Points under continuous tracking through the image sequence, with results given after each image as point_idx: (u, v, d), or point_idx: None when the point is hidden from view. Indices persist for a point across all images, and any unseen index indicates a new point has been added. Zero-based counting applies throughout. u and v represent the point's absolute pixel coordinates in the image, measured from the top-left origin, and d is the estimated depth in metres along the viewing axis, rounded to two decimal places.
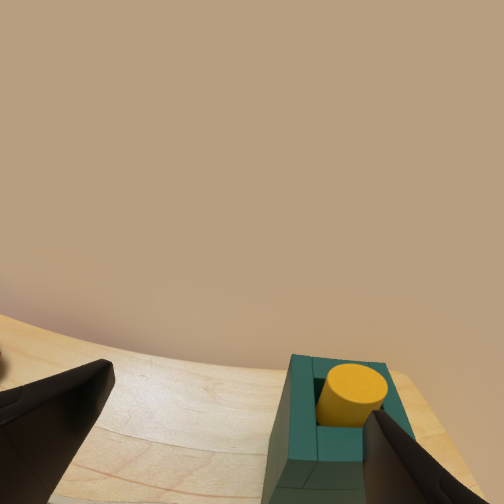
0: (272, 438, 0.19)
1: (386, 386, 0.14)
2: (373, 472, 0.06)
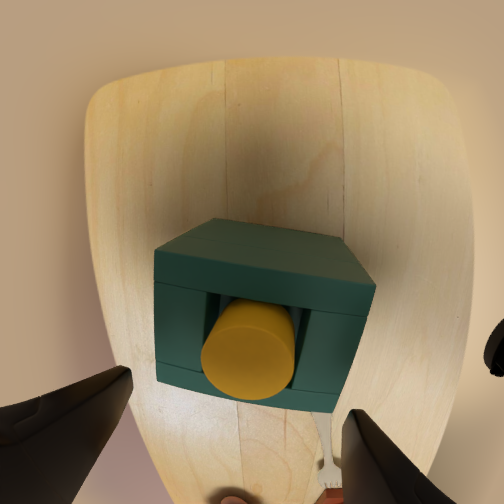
0: None
1: (260, 331, 0.10)
2: (350, 473, 0.06)
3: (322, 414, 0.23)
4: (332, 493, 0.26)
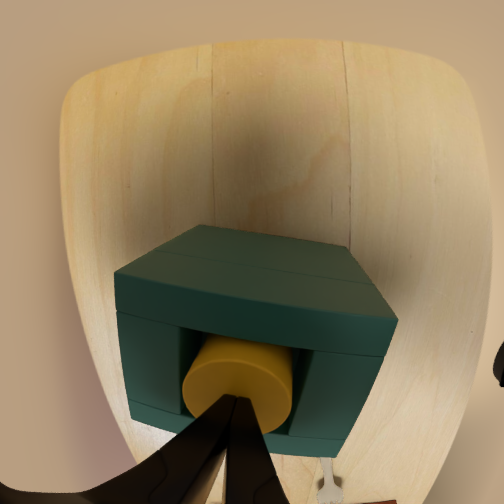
0: None
1: (251, 366, 0.08)
2: (225, 462, 0.07)
3: None
4: None
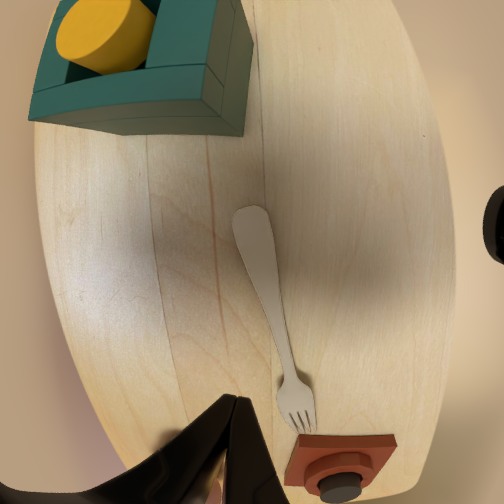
0: (128, 130, 0.16)
1: None
2: (225, 462, 0.07)
3: (264, 275, 0.19)
4: (307, 441, 0.23)
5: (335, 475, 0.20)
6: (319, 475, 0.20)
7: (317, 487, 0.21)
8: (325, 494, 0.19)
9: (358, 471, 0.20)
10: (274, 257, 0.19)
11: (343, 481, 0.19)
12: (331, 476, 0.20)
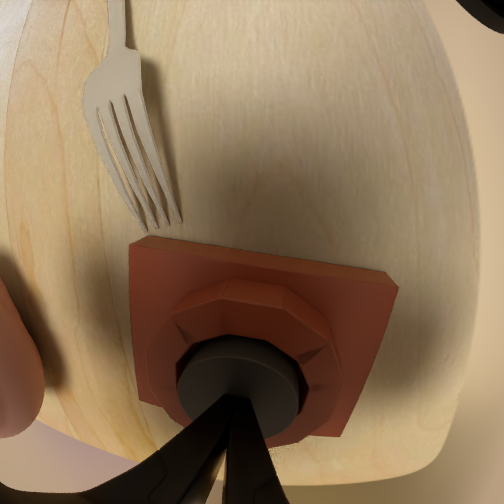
0: None
1: None
2: (225, 462, 0.07)
3: None
4: (156, 242, 0.11)
5: None
6: (168, 336, 0.09)
7: None
8: (186, 386, 0.09)
9: (284, 342, 0.08)
10: None
11: (235, 344, 0.09)
12: None
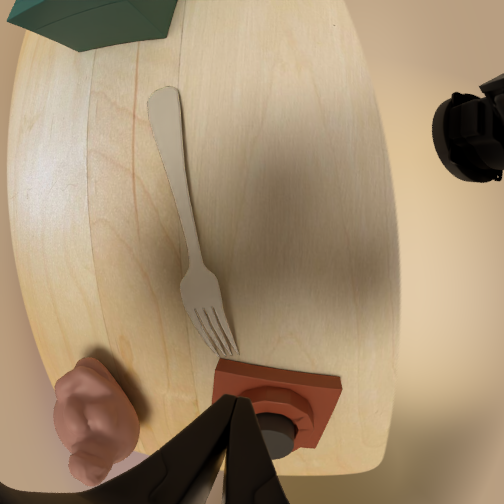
0: (79, 41, 0.15)
1: None
2: (225, 462, 0.07)
3: (169, 143, 0.18)
4: (227, 366, 0.22)
5: (259, 416, 0.19)
6: None
7: None
8: None
9: (289, 415, 0.19)
10: (179, 126, 0.18)
11: (268, 423, 0.18)
12: None
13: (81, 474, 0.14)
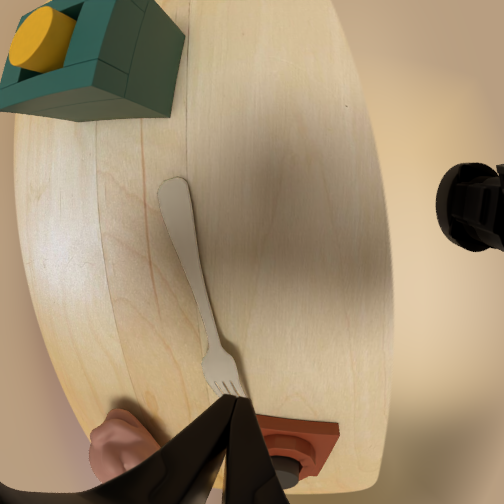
0: (78, 117, 0.18)
1: (42, 7, 0.07)
2: (225, 462, 0.07)
3: (183, 240, 0.20)
4: None
5: None
6: None
7: None
8: None
9: (295, 457, 0.21)
10: (192, 224, 0.20)
11: (277, 464, 0.21)
12: None
13: None
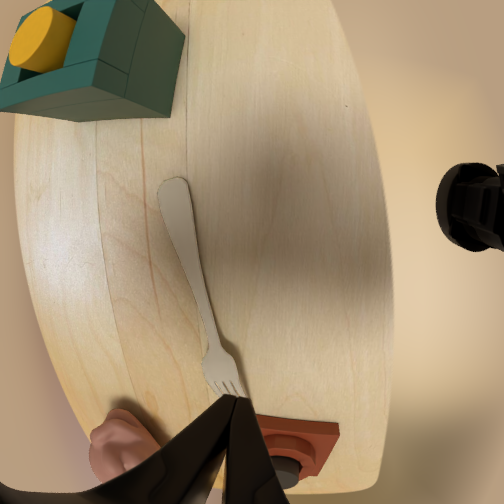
0: (78, 117, 0.18)
1: (42, 7, 0.07)
2: (225, 462, 0.07)
3: (183, 240, 0.20)
4: None
5: None
6: None
7: None
8: None
9: (295, 457, 0.21)
10: (192, 224, 0.20)
11: (277, 464, 0.21)
12: None
13: None
